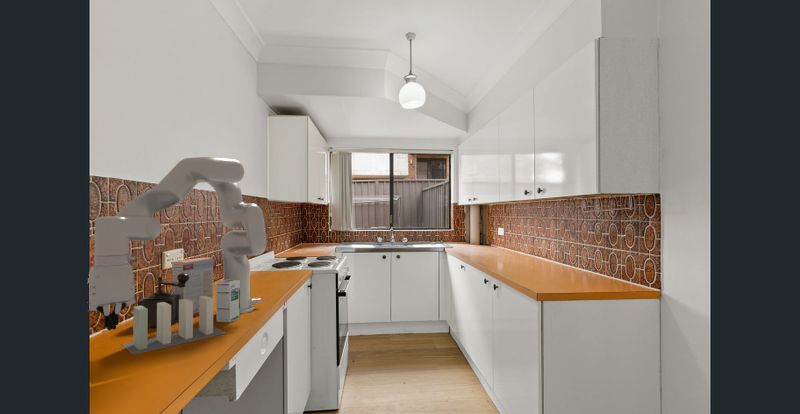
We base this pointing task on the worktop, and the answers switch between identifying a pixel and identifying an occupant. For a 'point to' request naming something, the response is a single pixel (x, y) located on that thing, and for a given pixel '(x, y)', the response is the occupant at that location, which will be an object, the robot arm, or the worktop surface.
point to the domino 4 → (206, 315)
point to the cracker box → (194, 280)
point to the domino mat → (175, 340)
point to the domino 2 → (164, 322)
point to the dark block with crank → (159, 297)
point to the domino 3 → (186, 318)
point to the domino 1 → (140, 327)
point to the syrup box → (228, 300)
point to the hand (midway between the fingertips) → (111, 328)
